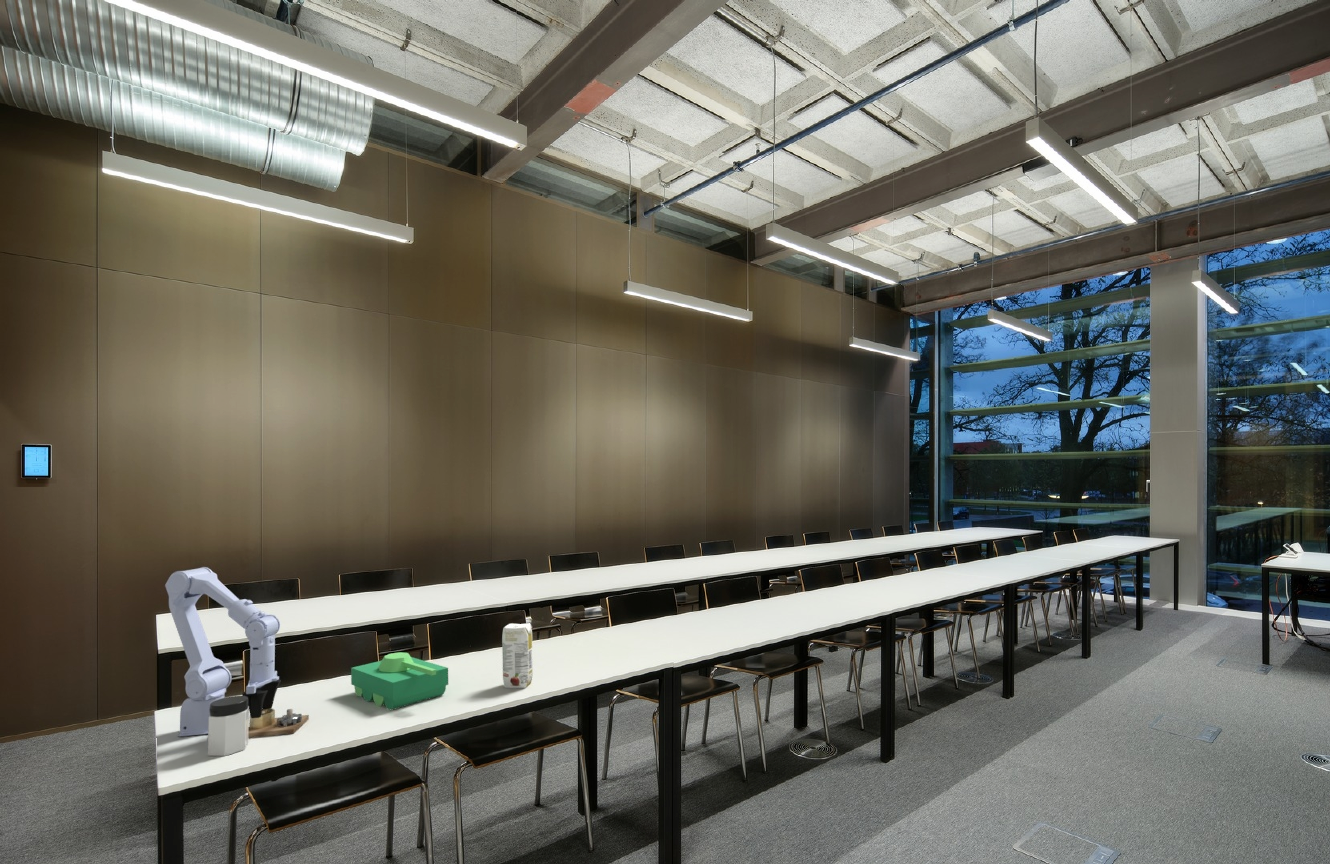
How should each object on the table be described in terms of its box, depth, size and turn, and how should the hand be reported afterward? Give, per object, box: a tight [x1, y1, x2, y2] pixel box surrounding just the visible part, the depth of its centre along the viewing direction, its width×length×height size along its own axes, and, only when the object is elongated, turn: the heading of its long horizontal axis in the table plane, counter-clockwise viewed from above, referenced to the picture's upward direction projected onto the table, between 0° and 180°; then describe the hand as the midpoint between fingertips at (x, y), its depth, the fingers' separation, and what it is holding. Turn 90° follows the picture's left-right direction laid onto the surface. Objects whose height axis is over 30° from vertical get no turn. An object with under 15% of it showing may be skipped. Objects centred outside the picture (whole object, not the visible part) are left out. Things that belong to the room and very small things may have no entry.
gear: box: [276, 712, 302, 727], centre depth 179 cm, size 6×6×2 cm
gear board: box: [248, 708, 310, 739], centre depth 178 cm, size 13×11×5 cm
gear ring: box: [249, 708, 276, 729], centre depth 178 cm, size 5×5×4 cm
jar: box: [207, 695, 250, 757], centre depth 165 cm, size 9×8×12 cm
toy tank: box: [350, 652, 449, 711], centre depth 202 cm, size 18×12×35 cm
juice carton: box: [501, 622, 534, 689], centre depth 210 cm, size 8×9×19 cm
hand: (261, 713), depth 178 cm, fingers open, 6 cm apart
